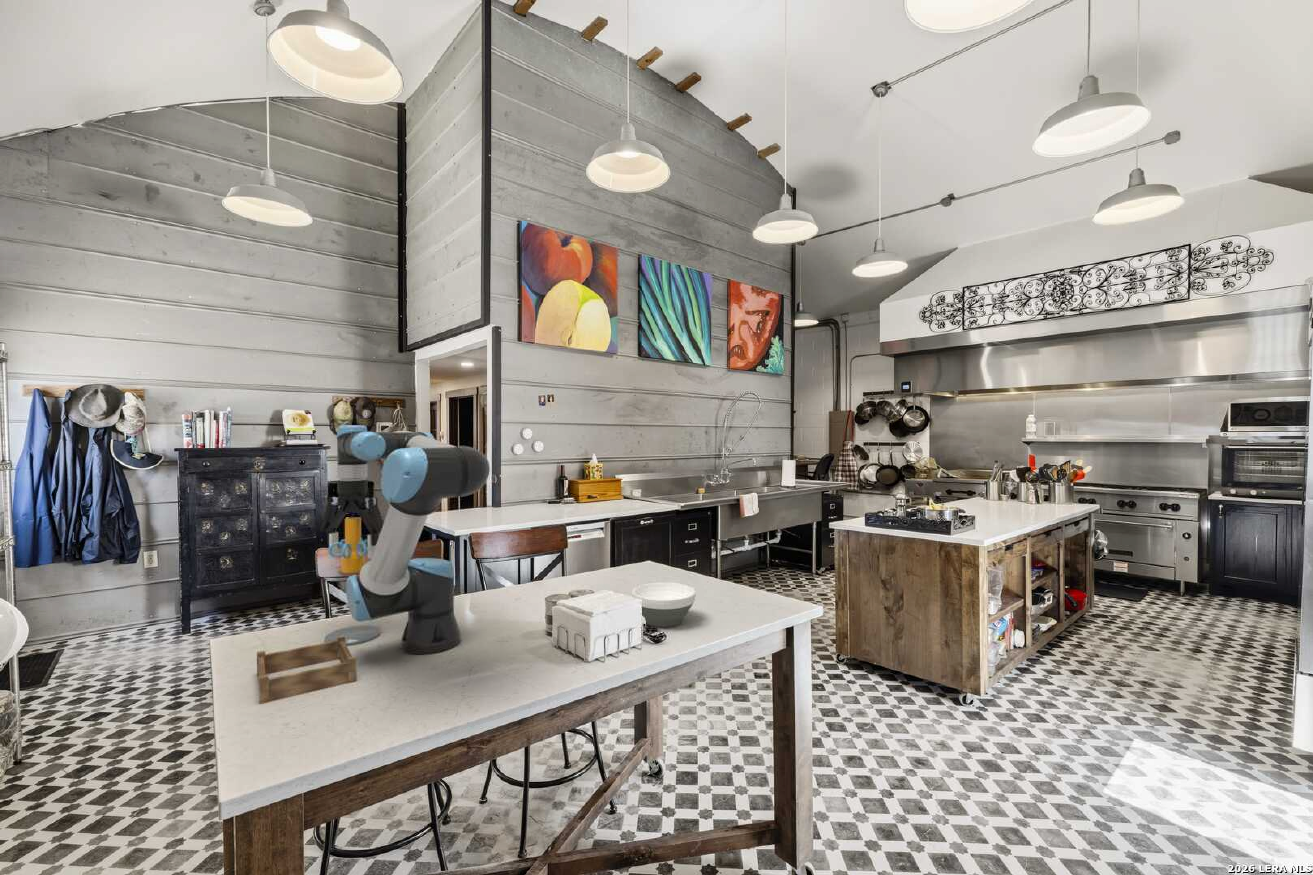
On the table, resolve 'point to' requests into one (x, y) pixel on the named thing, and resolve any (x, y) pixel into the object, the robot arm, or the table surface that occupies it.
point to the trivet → (355, 634)
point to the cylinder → (351, 547)
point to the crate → (305, 679)
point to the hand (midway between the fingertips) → (352, 556)
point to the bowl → (664, 602)
